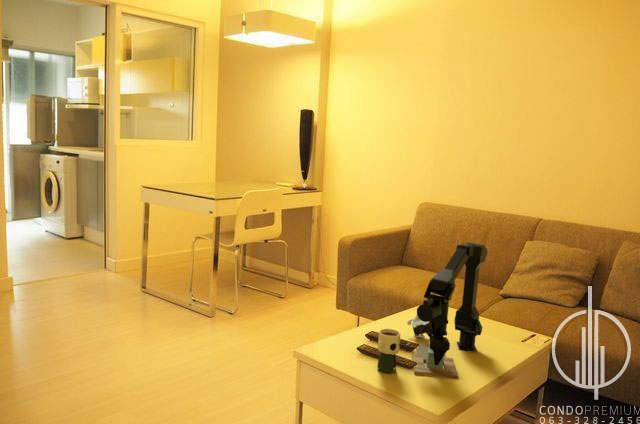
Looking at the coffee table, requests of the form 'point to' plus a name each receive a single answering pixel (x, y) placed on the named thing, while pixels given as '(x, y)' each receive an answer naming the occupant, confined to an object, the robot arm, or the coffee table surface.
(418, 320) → the toy figure
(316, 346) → the coffee table surface
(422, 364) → the walnut pocket plate
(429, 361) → the slate block
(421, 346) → the rubber mat
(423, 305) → the robot arm
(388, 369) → the character mug
